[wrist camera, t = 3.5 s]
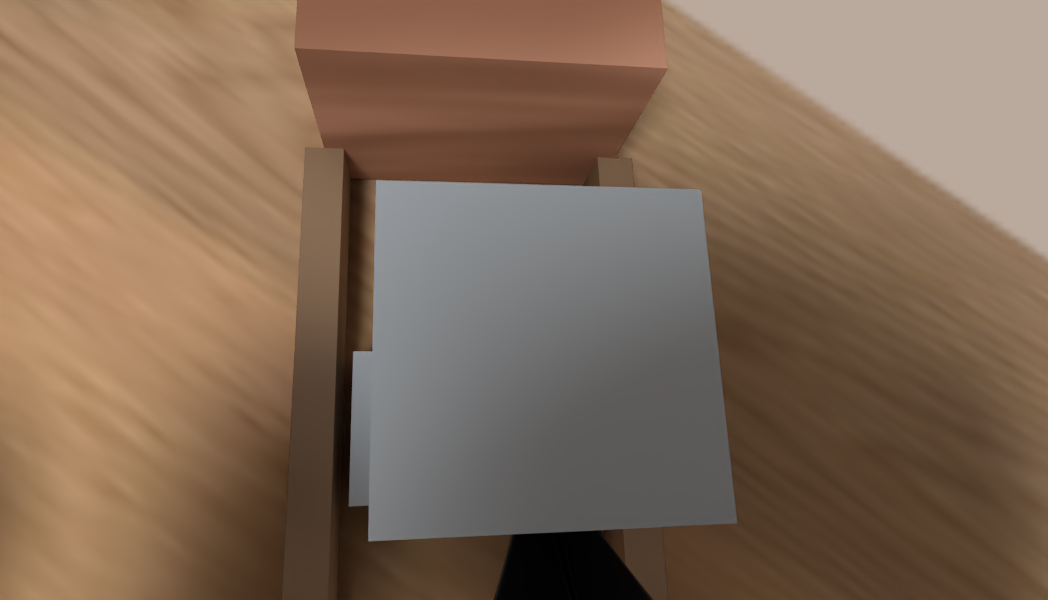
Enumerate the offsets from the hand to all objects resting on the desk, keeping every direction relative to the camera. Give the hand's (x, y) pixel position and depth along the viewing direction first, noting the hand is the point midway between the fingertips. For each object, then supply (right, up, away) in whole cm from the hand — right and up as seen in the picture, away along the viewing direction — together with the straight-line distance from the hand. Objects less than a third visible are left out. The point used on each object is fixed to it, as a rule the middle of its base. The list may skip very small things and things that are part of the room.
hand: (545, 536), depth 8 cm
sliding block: (-1, 0, +7) cm, 7 cm away
